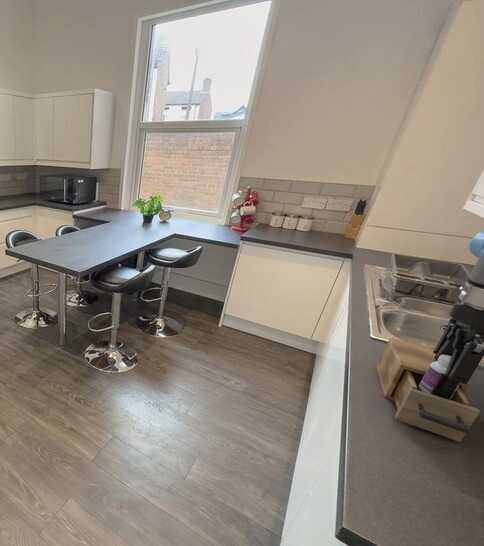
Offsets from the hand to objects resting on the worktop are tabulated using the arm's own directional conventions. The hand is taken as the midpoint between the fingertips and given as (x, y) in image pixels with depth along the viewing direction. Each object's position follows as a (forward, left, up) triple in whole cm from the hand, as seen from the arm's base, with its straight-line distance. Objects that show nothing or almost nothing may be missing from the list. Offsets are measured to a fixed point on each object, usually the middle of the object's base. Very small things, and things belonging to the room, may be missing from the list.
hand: (434, 391), depth 74 cm
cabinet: (0, -12, -8) cm, 15 cm away
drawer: (0, +1, -7) cm, 7 cm away
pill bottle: (0, 0, 0) cm, 1 cm away
